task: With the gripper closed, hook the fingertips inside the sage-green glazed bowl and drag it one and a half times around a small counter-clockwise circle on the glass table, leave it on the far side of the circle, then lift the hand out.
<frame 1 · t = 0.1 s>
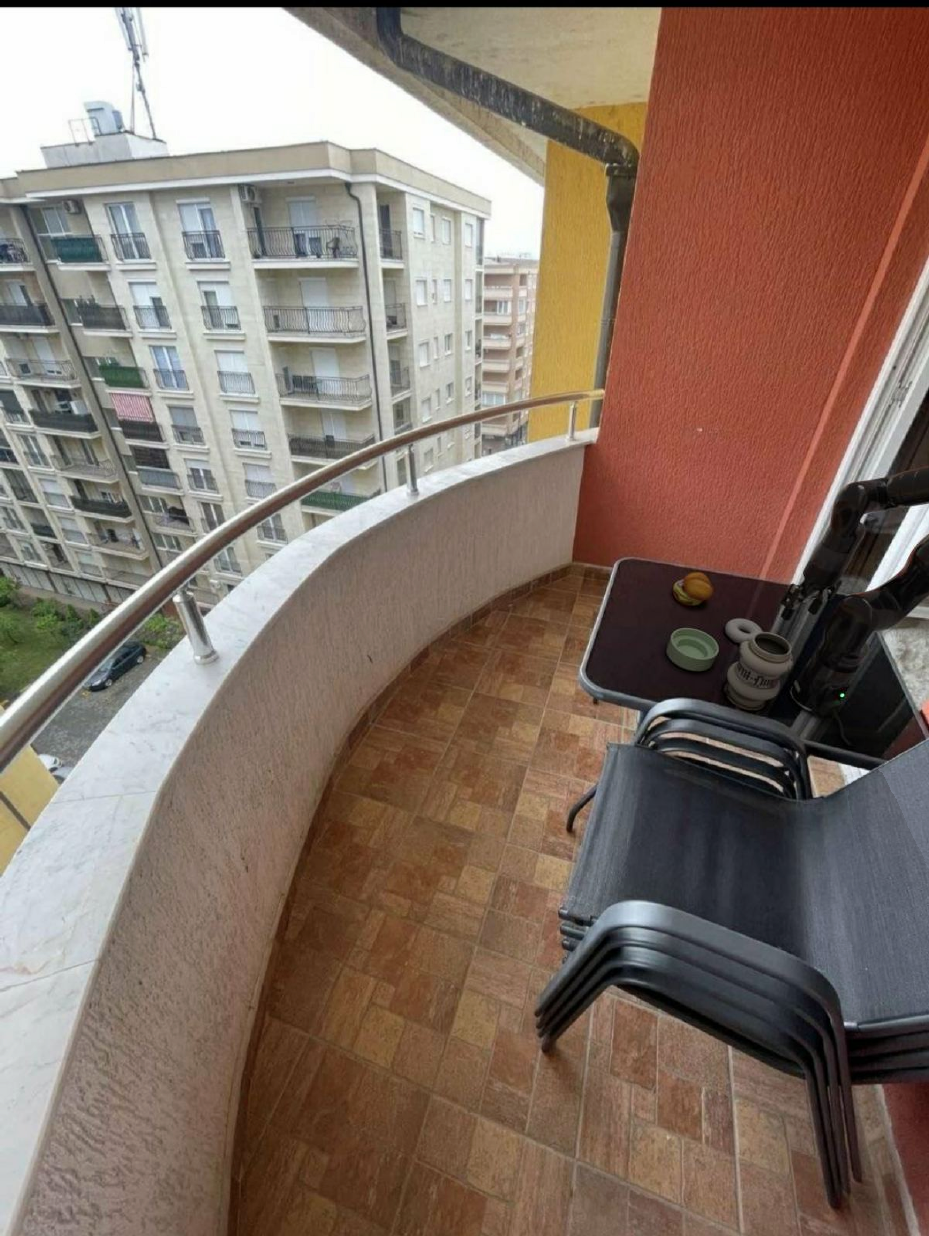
hand: (798, 615, 137), 17 cm above the table, tool pointing down, fingers open, 8 cm apart
cheeseburger: (689, 599, 169), on the table
bowl: (688, 656, 149), on the table
donut: (741, 636, 157), on the table
apothecary jar: (744, 696, 139), on the table
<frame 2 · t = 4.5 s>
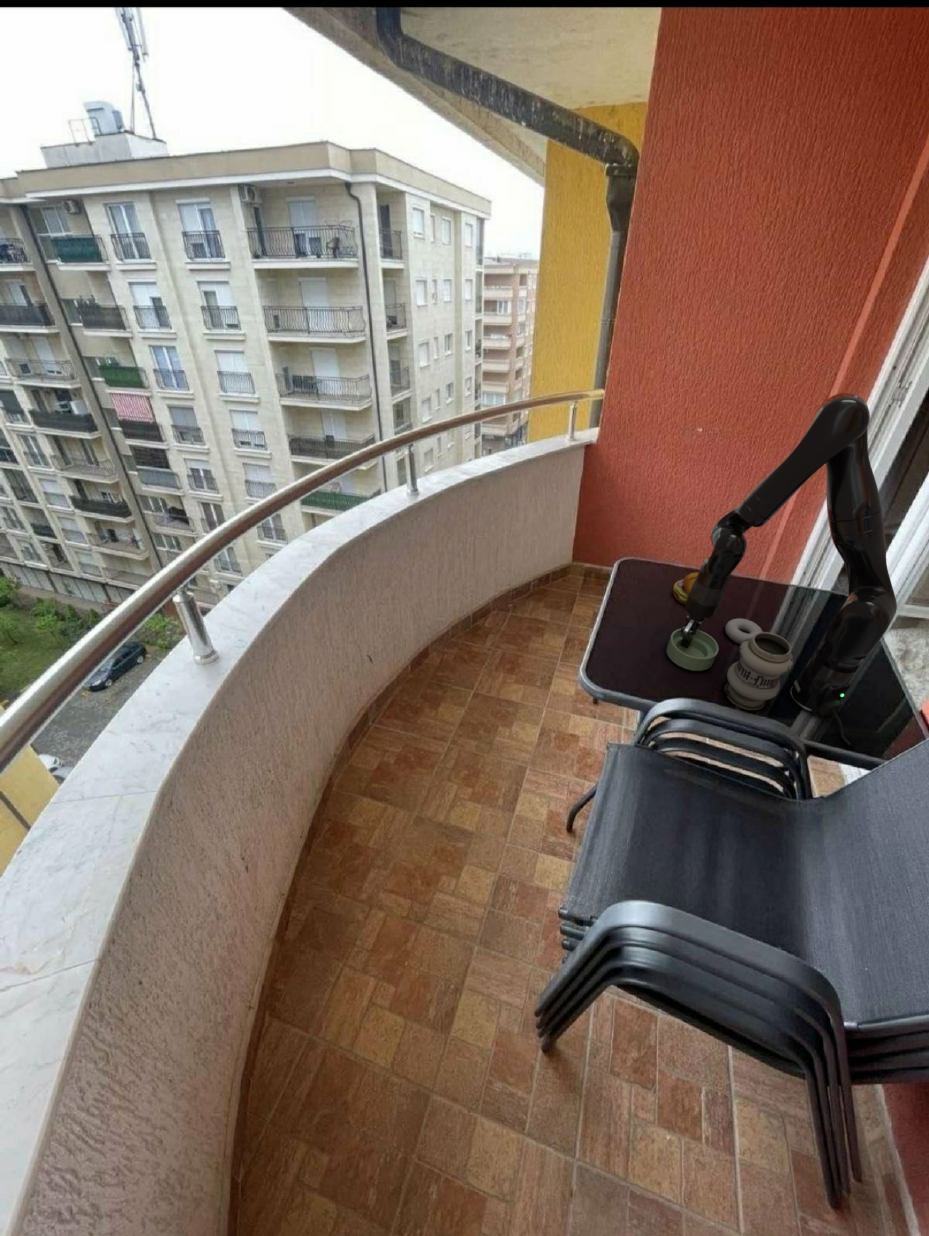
hand: (684, 645, 150), 2 cm above the table, tool pointing down, fingers closed
bowl: (688, 656, 149), on the table, touching gripper
everything else where it was.
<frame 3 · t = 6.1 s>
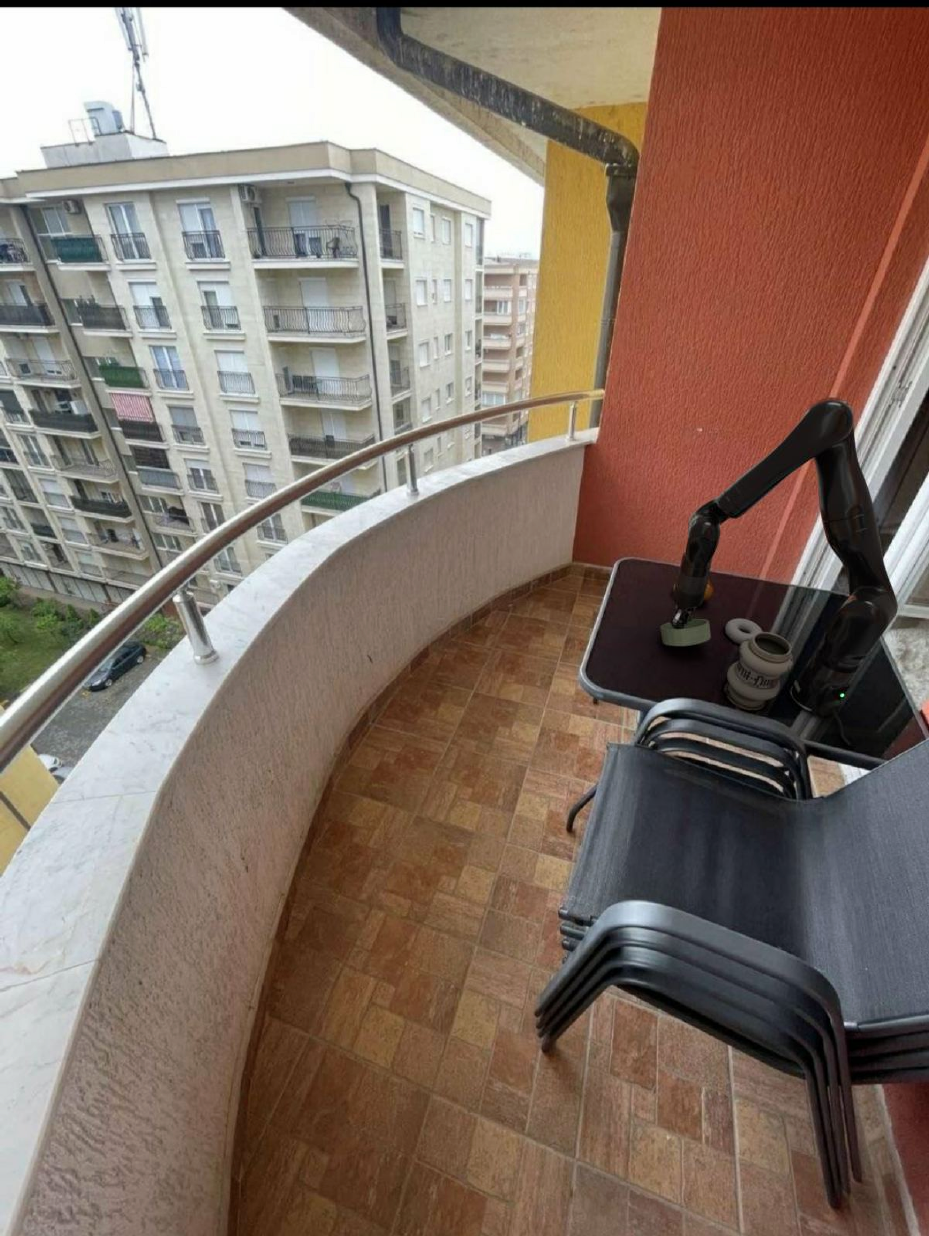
hand: (678, 636, 152), 2 cm above the table, tool pointing down, fingers closed
bowl: (686, 642, 149), point 3 cm above the table, tilted 35°, touching gripper
everything else where it was.
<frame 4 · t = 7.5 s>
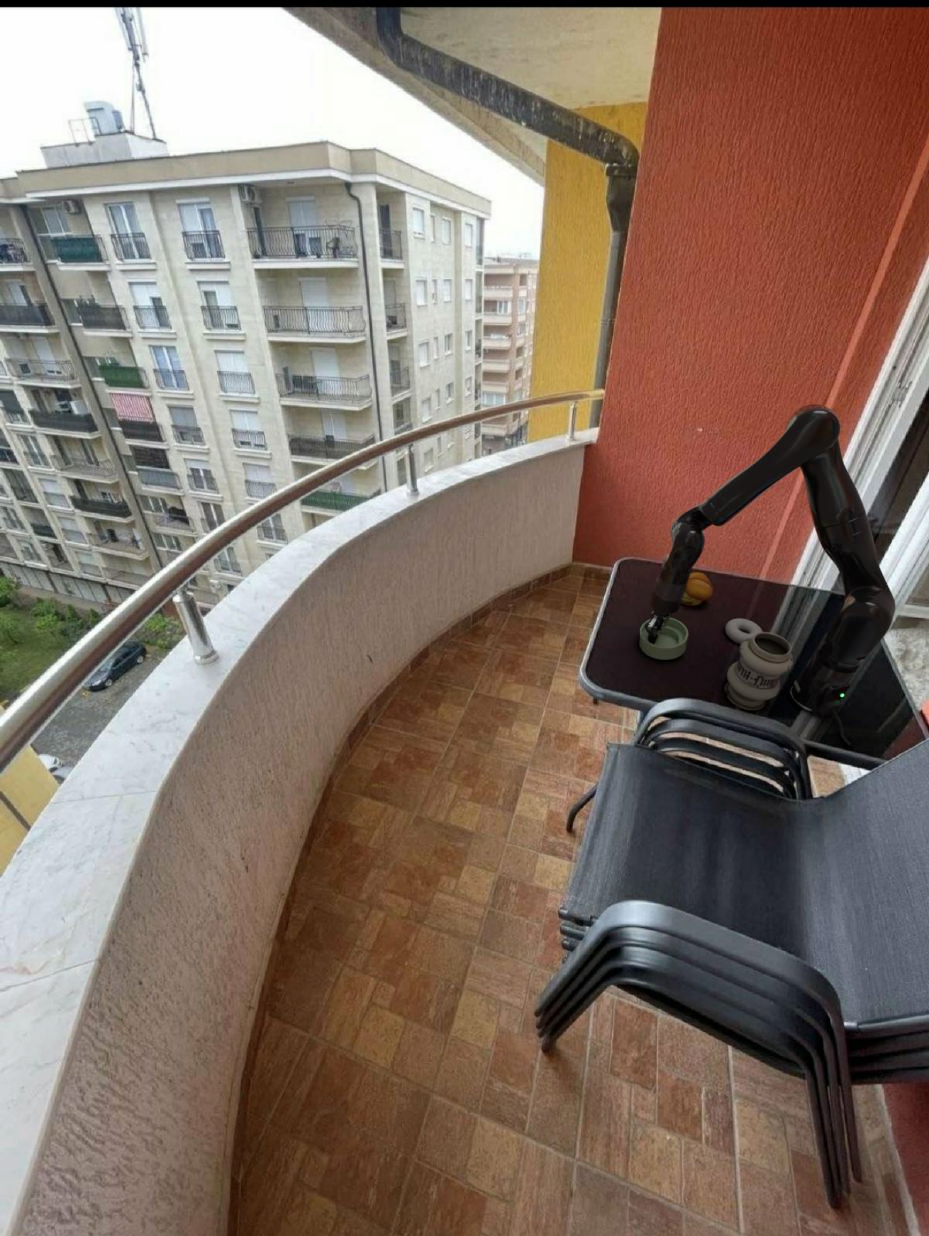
hand: (652, 641, 151), 2 cm above the table, tool pointing down, fingers closed
bowl: (662, 645, 151), point 1 cm above the table, tilted 12°
everything else where it was.
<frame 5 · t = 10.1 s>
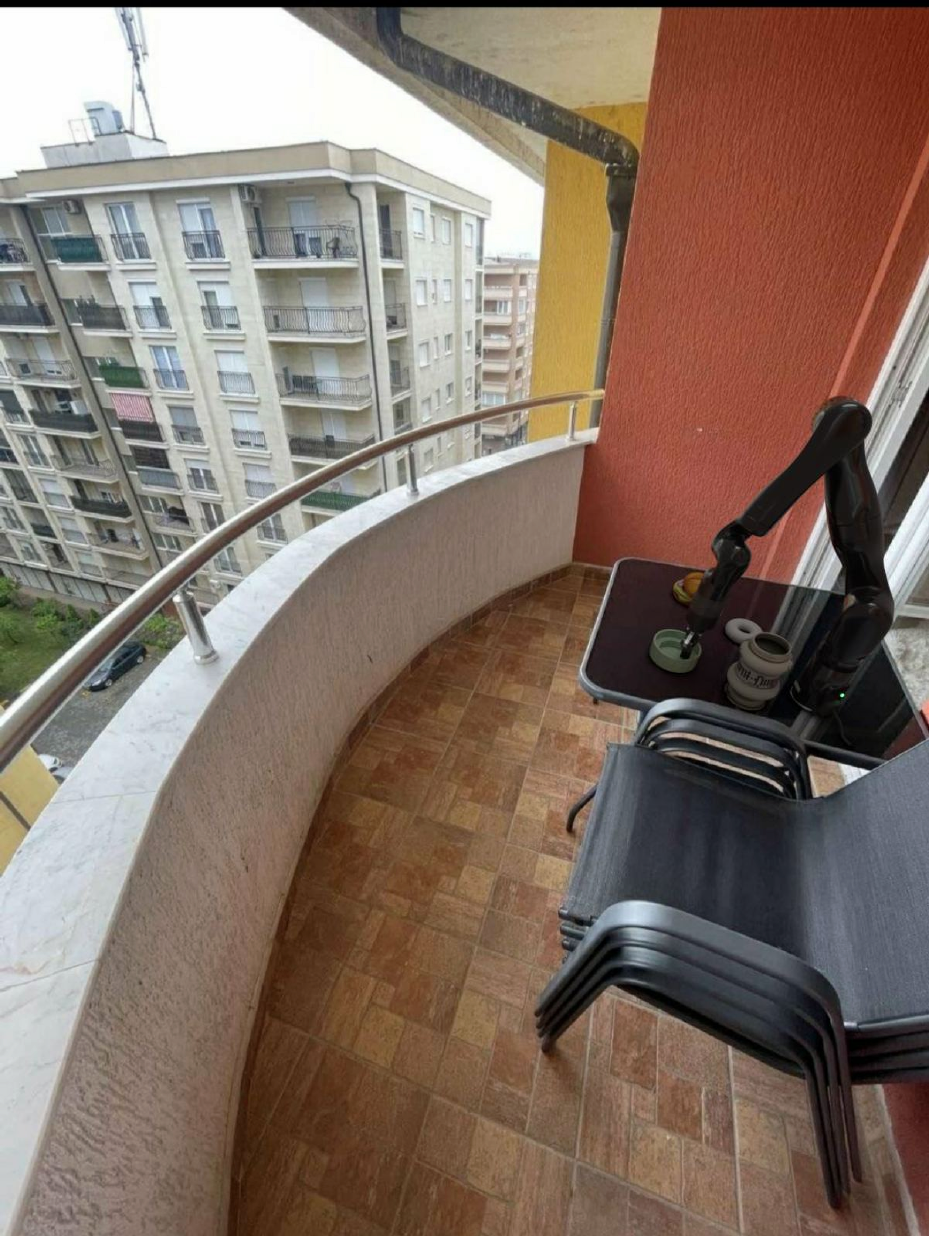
hand: (684, 657, 146), 2 cm above the table, tool pointing down, fingers closed
bowl: (672, 658, 148), on the table, touching gripper
everything else where it was.
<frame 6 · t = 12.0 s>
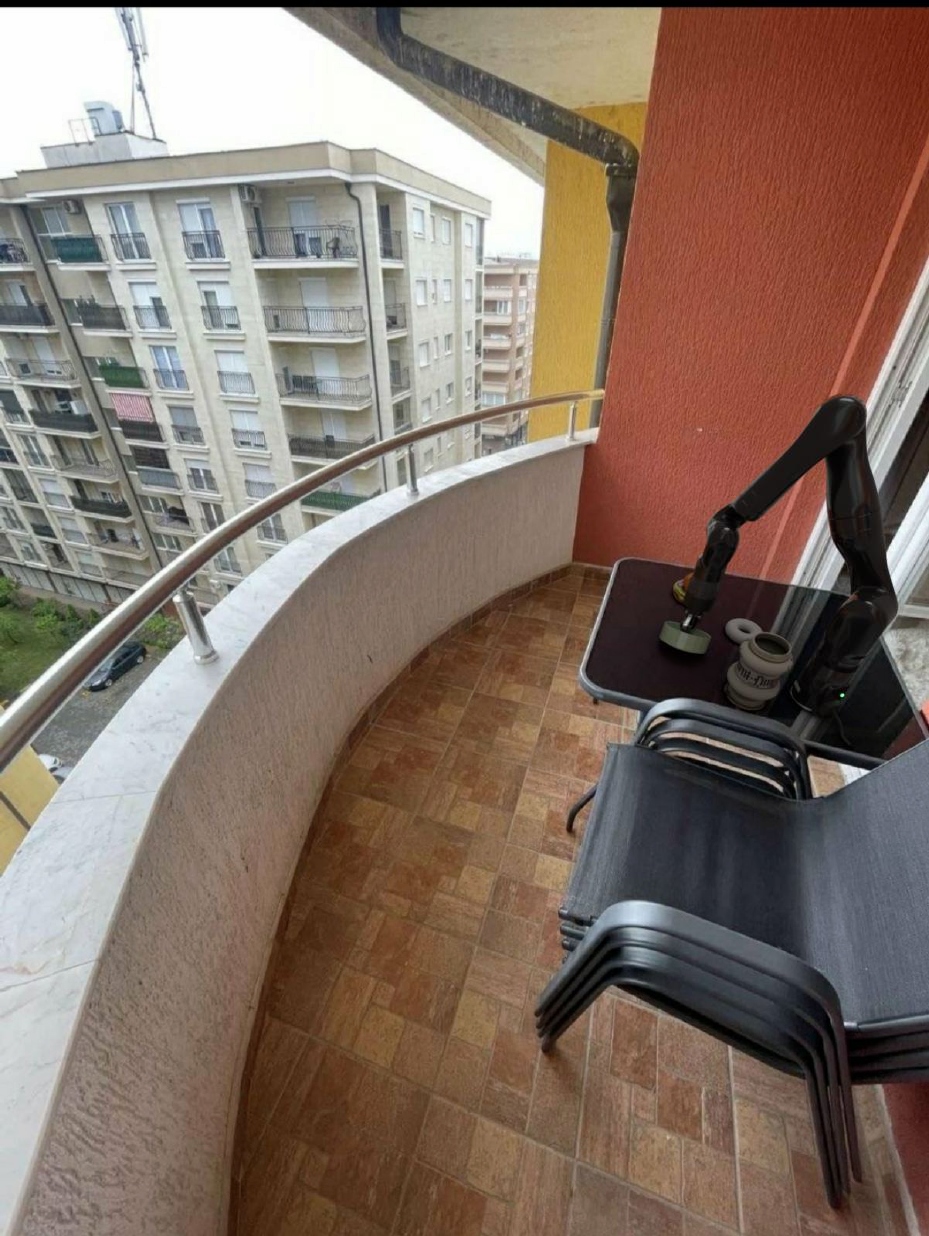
hand: (685, 640, 151), 2 cm above the table, tool pointing down, fingers closed
bowl: (681, 646, 149), point 2 cm above the table, tilted 26°, touching gripper
everything else where it was.
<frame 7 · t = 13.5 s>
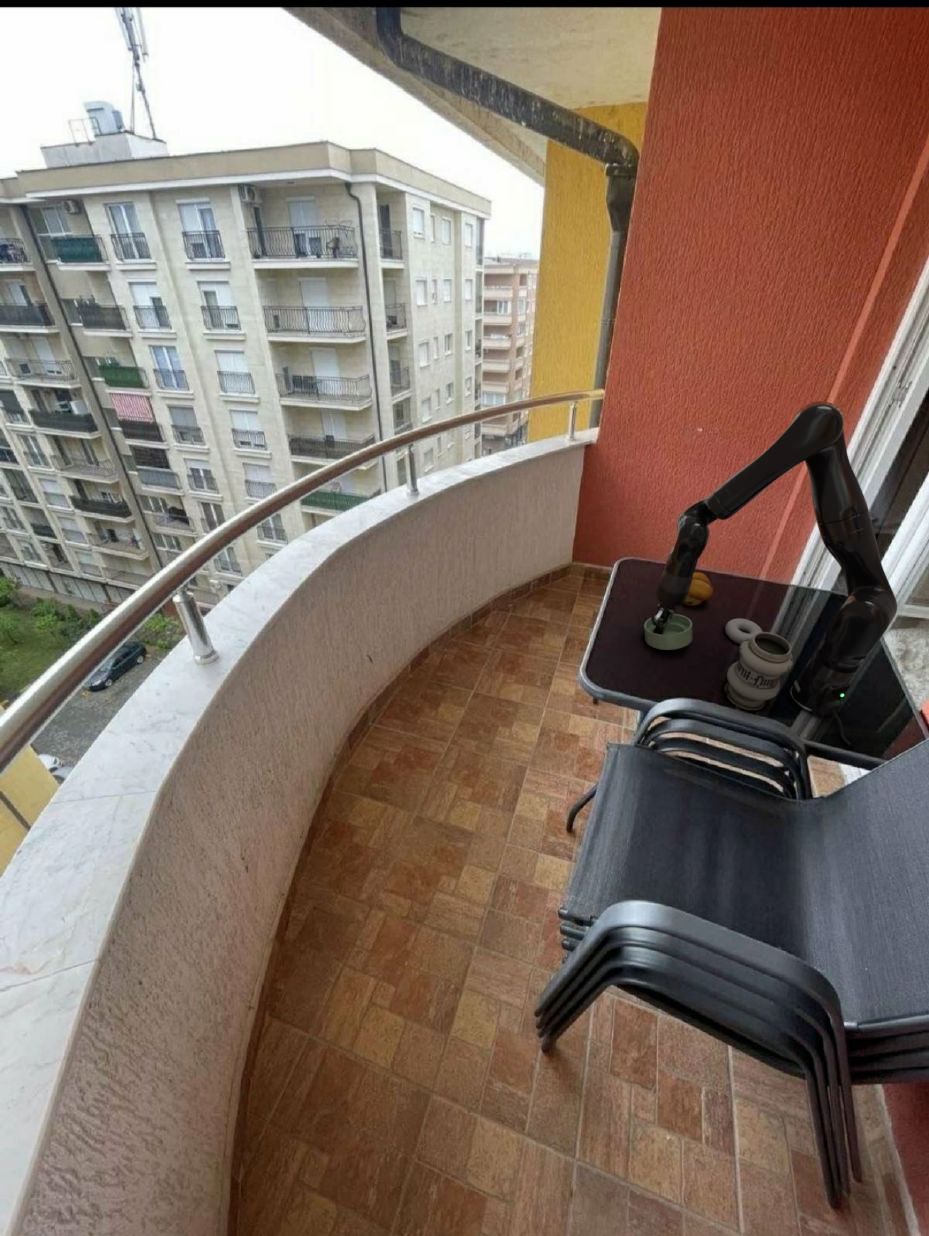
hand: (658, 633, 153), 2 cm above the table, tool pointing down, fingers closed
bowl: (668, 640, 151), point 2 cm above the table, tilted 20°, touching gripper
everything else where it was.
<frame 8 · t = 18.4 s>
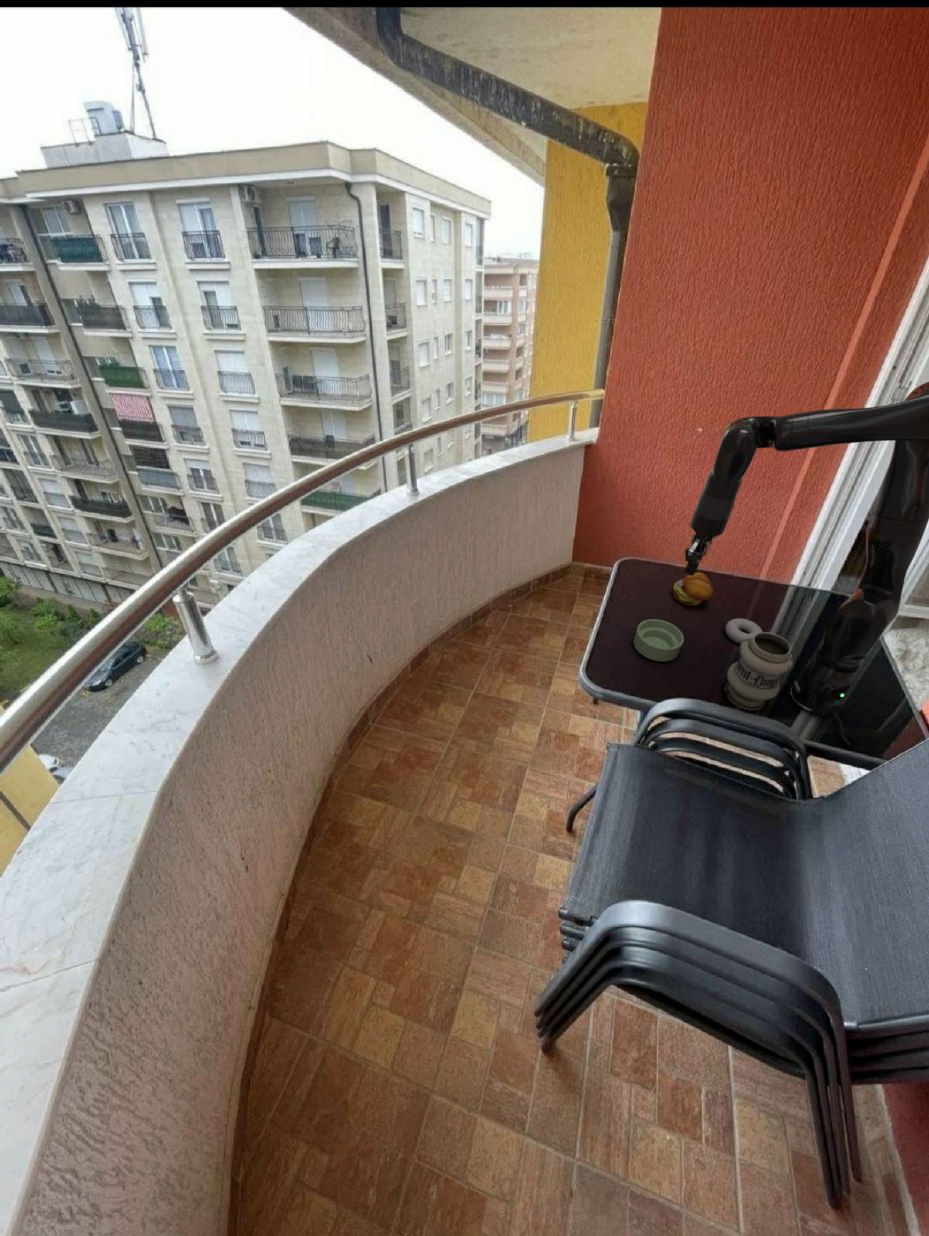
hand: (689, 573, 135), 25 cm above the table, tool pointing down, fingers closed
bowl: (655, 647, 151), on the table
everything else where it was.
at the end: bowl 1.8 cm from the target spot, on the table; bowl tilted 0°; the gripper is holding nothing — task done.
